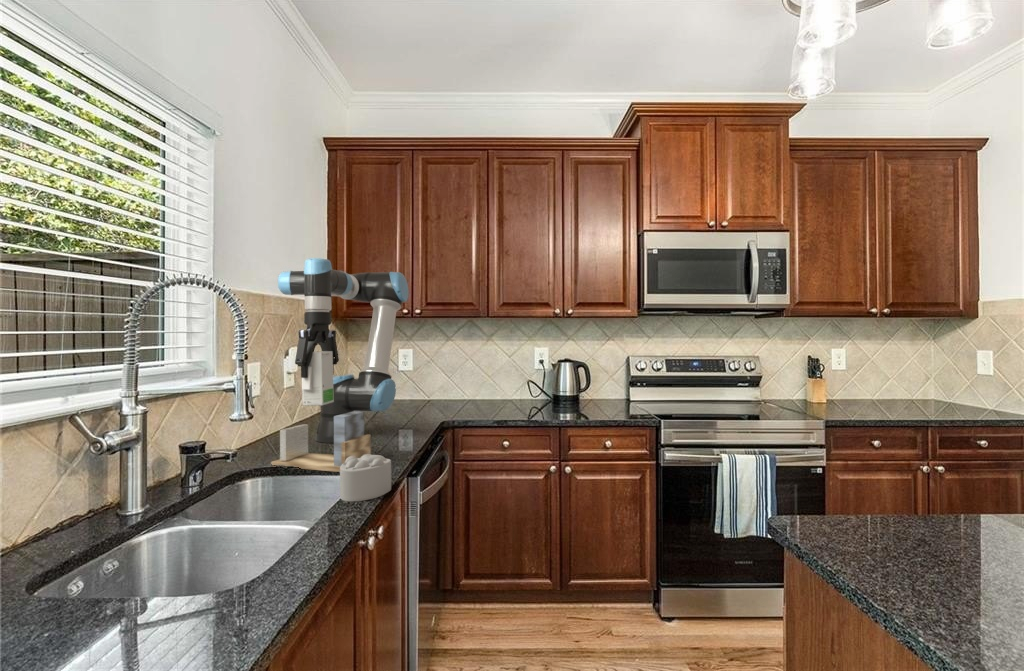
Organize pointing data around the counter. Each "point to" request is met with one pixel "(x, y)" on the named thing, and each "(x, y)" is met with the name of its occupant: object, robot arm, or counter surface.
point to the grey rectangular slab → (293, 442)
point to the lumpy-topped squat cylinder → (365, 477)
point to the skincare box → (320, 380)
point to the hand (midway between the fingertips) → (317, 387)
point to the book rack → (337, 445)
